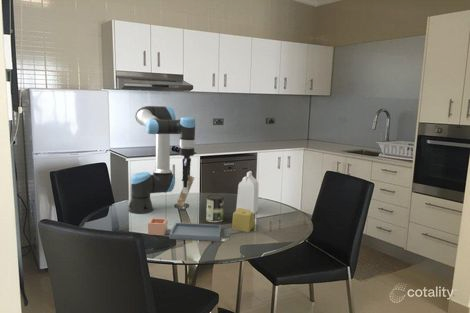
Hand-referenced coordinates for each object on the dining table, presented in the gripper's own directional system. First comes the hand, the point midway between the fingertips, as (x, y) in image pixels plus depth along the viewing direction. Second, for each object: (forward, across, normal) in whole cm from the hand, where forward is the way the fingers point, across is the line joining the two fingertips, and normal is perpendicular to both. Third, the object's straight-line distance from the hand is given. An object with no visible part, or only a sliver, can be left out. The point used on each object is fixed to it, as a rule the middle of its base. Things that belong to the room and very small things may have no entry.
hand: (185, 192), depth 200 cm
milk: (+23, +45, -34) cm, 61 cm away
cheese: (+23, +12, -31) cm, 40 cm away
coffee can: (+23, +25, -14) cm, 37 cm away
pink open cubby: (+22, 0, +14) cm, 27 cm away
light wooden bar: (+8, 0, +1) cm, 8 cm away
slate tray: (+22, 0, -6) cm, 23 cm away
